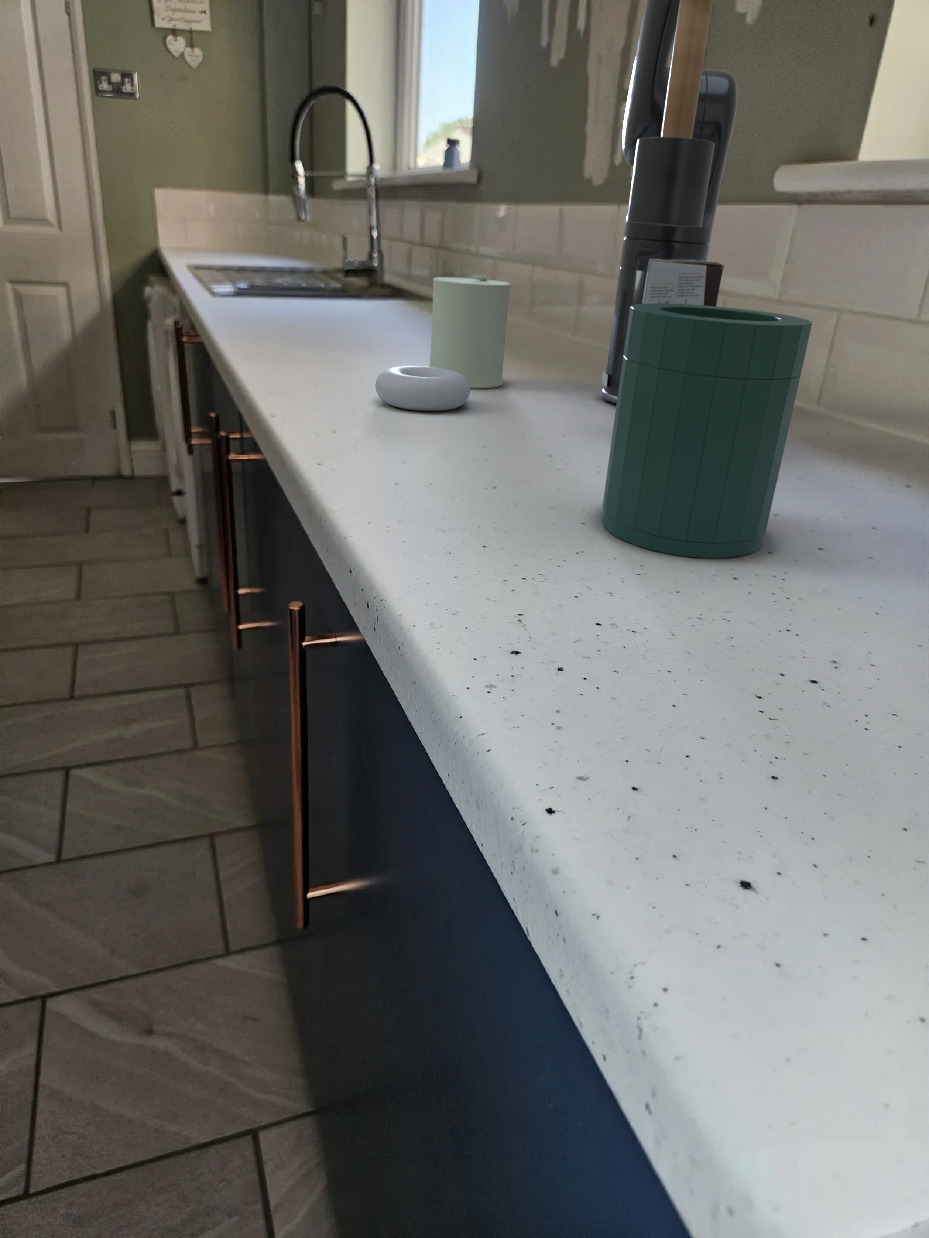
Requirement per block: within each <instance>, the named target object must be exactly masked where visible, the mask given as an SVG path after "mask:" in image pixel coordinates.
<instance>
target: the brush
mask: <svg viewBox="0 0 929 1238" xmlns="http://www.w3.org/2000/svg"><path fill="white" fill-rule="evenodd" d="M713 3H714V0H680V4H679V12H678V19H677V26H676V33H675V40H674V43H673V47H672V48H673V49H672V55H671V63H670V66H671V69H670V76H669V84H668V91H667V98H666V105H665V112H664V120H663V127H662V134H661V137H644V138H640V139H638V140H637V148H636V155H635V163H634V167H633V171H632V179H631V186H630V195H629V201H628V202H629V203H628V210H627V216H628V217H627V216H626V218H627V222H628V223H635V224H646V225H660V226H675V227H695V228H700V227H701V226H702V221H703V215H704V208H705V202H706V196H707V190H708V184H709V177H710V171H711V165H712V159H713V153H714V146H715V143H713V142H711V141H707V140H701V139H693V138H692V136H693V129H694V122H695V116H696V109H697V103H698V96H699V90H700V83H701V76H702V70H703V69H704V64H705V63H704V62H705V56H706V49H707V43H708V42H707V41H708V35H709V29H710V23H711V16H712V11H713Z"/></svg>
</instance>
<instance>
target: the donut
mask: <svg viewBox="0 0 929 1238" xmlns="http://www.w3.org/2000/svg"><path fill="white" fill-rule="evenodd" d="M375 392H376V393H377V396H378V397H379V399H380V400H381V401H382V402H384V403H385V404H387V405H389V406H392V407H395V408H399V409H405V410H409V411H421V412H437V411H438V412H441V411H449V410H454V409H457V408H459V407H462V406H463V405H464V404H466V402H467V400H468V399H469V398H470V394H471V388H470V385H469V382H468V380H467V379H466V378H465V377H464V376H463V375H461V374H460V373H458V372H455V371H452V370H448V369H443V368H435V367H430V366H423V365H421V366H418V365H403V366H394V367H390V368H386V369H385V370H383V371H382V372H381V373H380V374H379V375H378V376H377V377H376V379H375Z"/></svg>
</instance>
